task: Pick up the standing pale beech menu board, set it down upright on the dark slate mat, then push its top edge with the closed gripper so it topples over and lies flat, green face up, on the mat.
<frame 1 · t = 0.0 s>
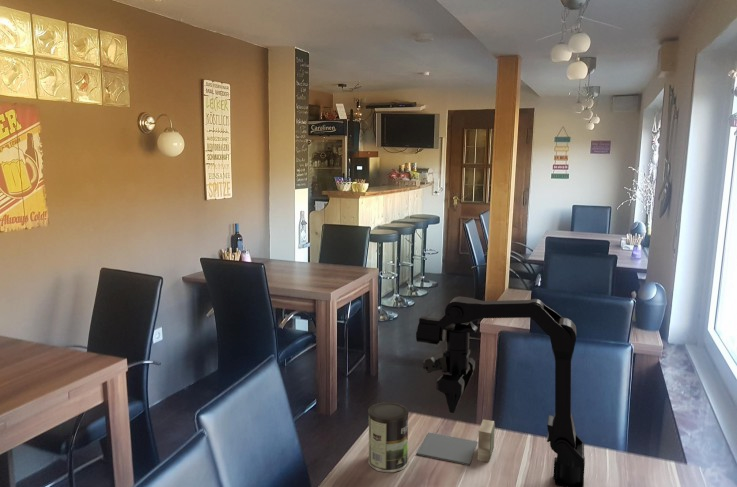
hand: (455, 405, 139), 15 cm above the table, fingers open, 9 cm apart
coffee can: (387, 462, 140), on the table
slate mat: (447, 448, 146), on the table
beech board: (485, 454, 143), on the table
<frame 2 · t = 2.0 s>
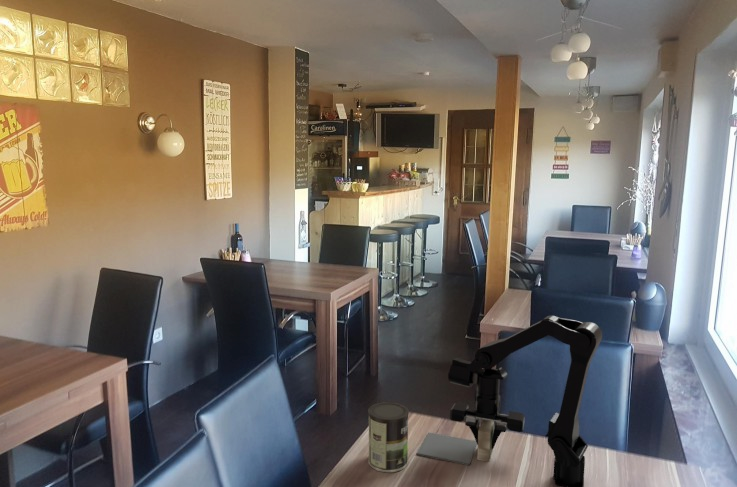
hand: (485, 447, 143), 2 cm above the table, fingers closed on beech board, 3 cm apart
beech board: (485, 454, 143), on the table, touching gripper
everything else where it was.
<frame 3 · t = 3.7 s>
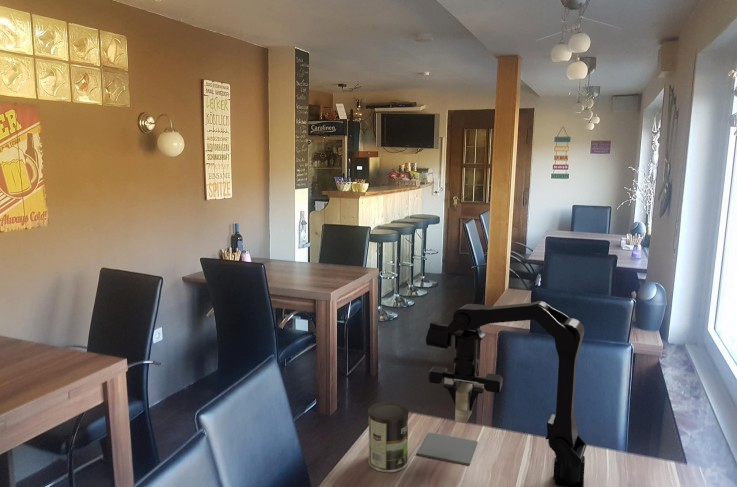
hand: (464, 409, 143), 12 cm above the table, fingers closed on beech board, 3 cm apart
beech board: (463, 416, 143), point 10 cm above the table, touching gripper
everything else where it was.
when the fingers open (3 cm above the table, at t = 5.5 s): beech board stays where it is, resting on slate mat.
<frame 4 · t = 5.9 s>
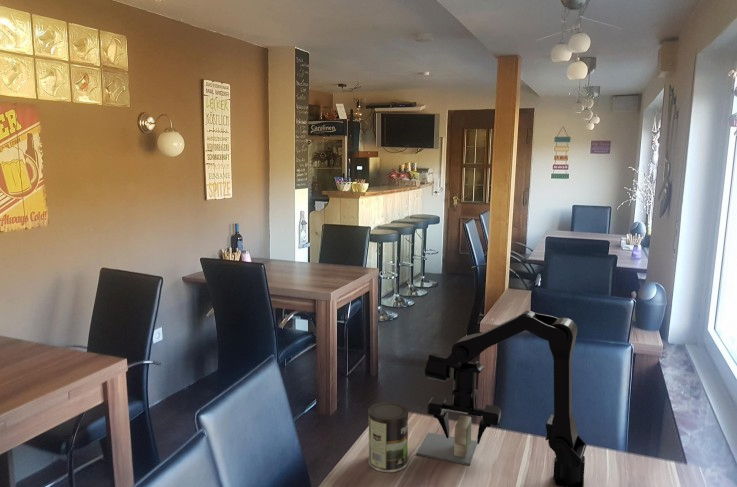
hand: (462, 440, 144), 3 cm above the table, fingers open, 8 cm apart
beech board: (462, 449, 145), resting on slate mat
everything else where it was.
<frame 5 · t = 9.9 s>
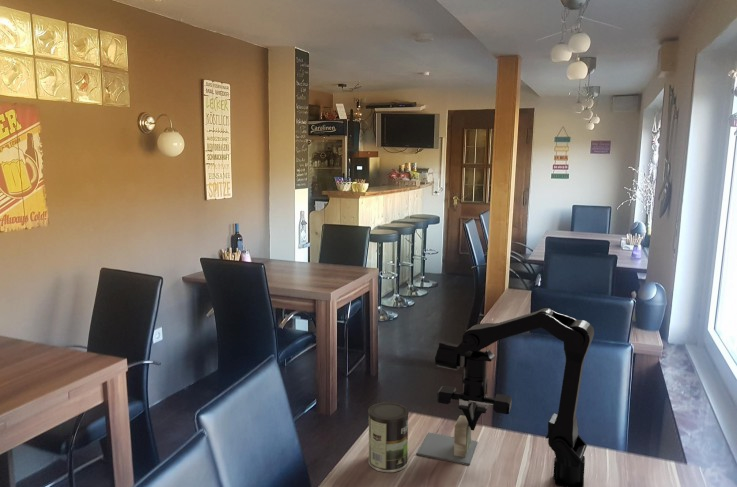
hand: (472, 429, 143), 7 cm above the table, fingers closed
beech board: (462, 449, 145), point 1 cm above the table, touching gripper, slate mat
everything else where it was.
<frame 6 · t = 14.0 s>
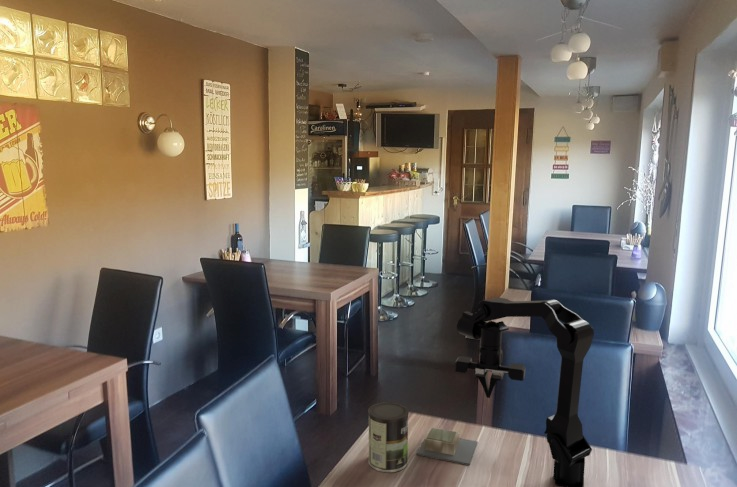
hand: (488, 397, 150), 12 cm above the table, fingers closed
beech board: (456, 443, 145), point 2 cm above the table, tilted 90°, touching slate mat
everything else where it was.
at the end: beech board tilted 90°; beech board inside the target area on the slate mat (2.9 cm from its centre), point 2.0 cm above the slate mat's base; the gripper is holding nothing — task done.
